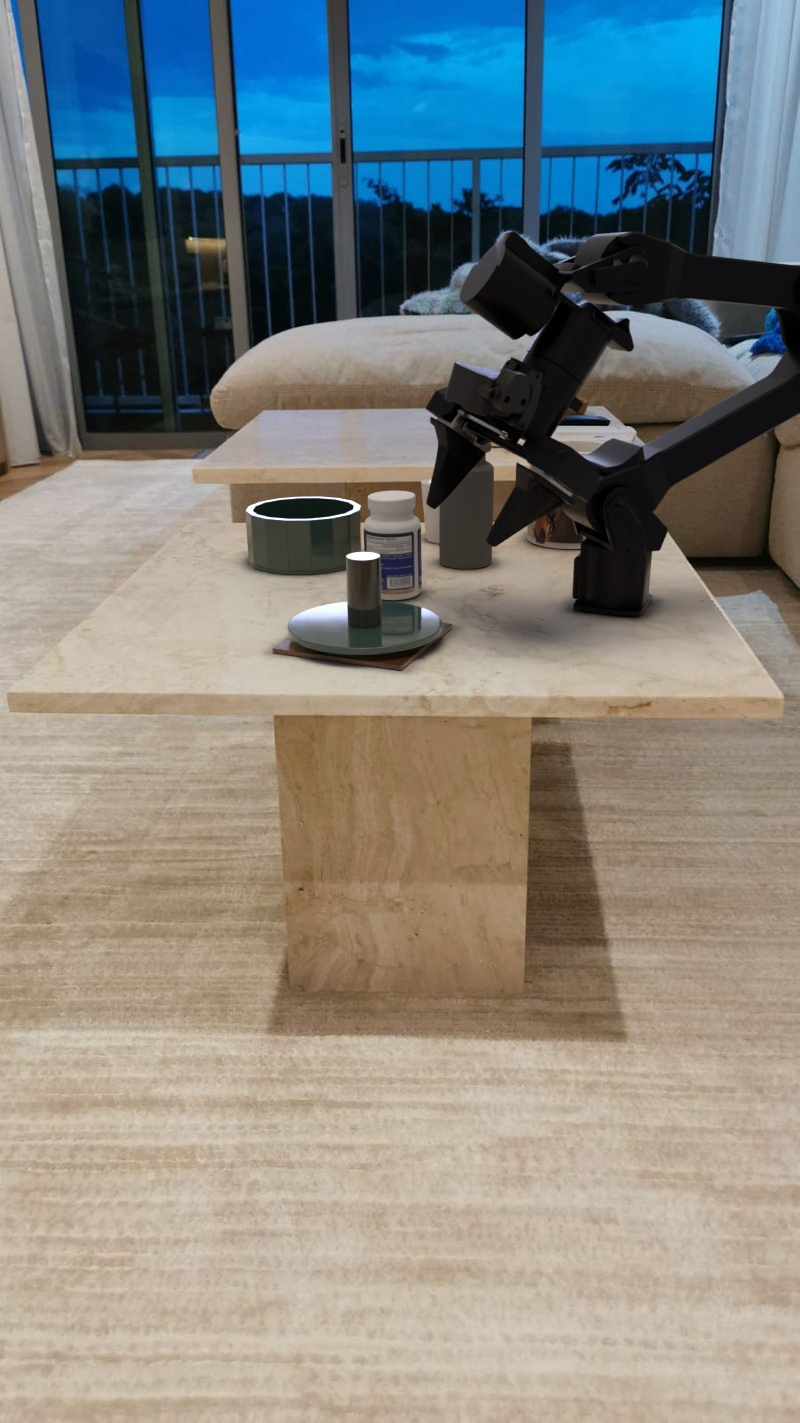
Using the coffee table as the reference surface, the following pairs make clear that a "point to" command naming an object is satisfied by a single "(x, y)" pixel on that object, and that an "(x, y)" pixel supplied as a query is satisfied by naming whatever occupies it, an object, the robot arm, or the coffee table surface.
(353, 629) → the tin lid
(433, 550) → the coffee table surface
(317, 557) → the tin
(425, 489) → the shot glass
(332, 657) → the glossy brown square tile
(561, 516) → the mug
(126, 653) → the coffee table surface
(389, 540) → the pill bottle
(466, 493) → the bottle
